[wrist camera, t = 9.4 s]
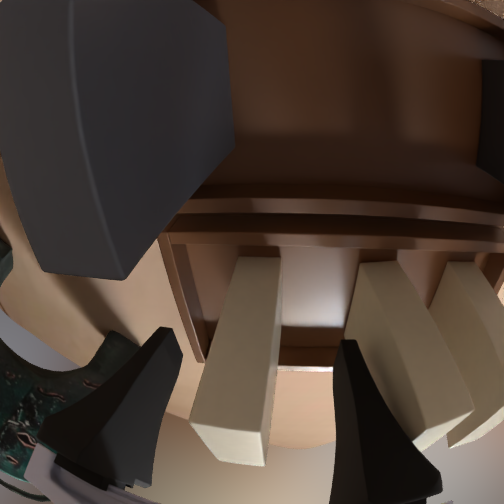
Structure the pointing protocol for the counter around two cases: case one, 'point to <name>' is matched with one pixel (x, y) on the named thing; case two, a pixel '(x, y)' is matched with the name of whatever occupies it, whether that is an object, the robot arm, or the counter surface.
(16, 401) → the green mottled arch
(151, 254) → the counter surface
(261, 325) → the cream book
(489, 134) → the charcoal book
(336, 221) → the shallow brown tray
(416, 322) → the cream book
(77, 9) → the charcoal book
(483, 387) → the cream book
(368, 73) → the dark wooden tray
